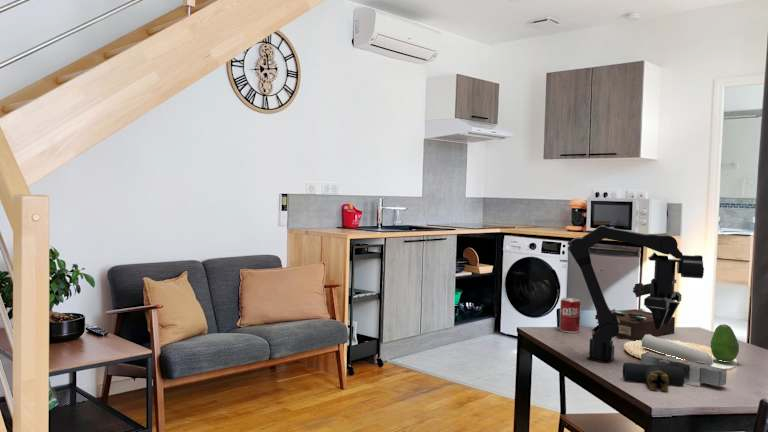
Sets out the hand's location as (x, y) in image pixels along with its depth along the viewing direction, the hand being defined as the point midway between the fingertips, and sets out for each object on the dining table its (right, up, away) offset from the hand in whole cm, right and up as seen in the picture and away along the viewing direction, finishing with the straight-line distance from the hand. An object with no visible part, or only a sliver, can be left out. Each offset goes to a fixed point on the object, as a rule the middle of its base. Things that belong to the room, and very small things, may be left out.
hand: (661, 327), depth 189 cm
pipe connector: (-10, -13, -19) cm, 25 cm away
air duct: (0, -12, -13) cm, 17 cm away
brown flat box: (+10, -11, +47) cm, 49 cm away
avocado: (+23, -13, +7) cm, 27 cm away
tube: (+9, -12, +11) cm, 19 cm away
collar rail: (0, -13, -13) cm, 18 cm away
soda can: (-15, -10, +45) cm, 48 cm away
